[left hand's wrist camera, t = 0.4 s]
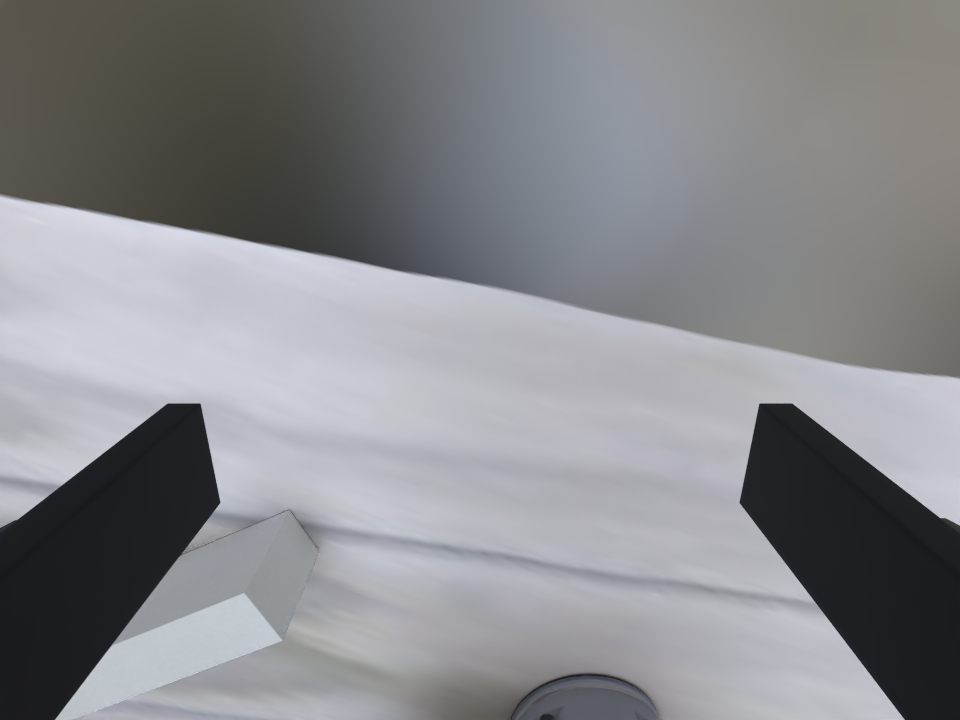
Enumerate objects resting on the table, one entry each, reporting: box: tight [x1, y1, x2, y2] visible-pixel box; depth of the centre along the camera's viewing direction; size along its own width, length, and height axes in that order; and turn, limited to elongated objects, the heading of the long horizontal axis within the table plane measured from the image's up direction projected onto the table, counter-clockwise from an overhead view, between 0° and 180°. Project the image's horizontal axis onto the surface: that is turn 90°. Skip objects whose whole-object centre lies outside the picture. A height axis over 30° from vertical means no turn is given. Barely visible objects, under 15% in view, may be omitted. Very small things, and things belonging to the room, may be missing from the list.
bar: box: [55, 510, 319, 720], centre depth 44 cm, size 26×5×9 cm, turn 115°
